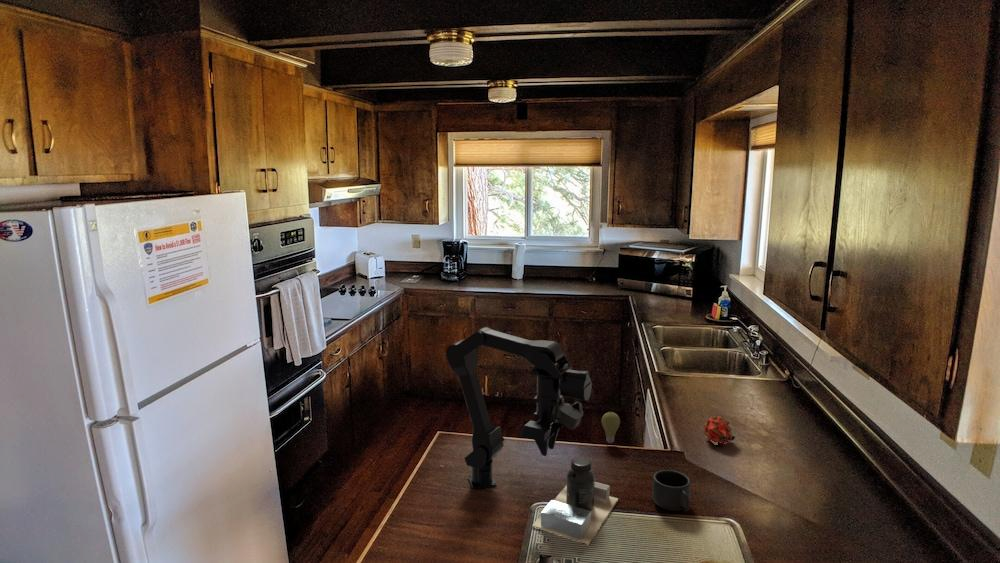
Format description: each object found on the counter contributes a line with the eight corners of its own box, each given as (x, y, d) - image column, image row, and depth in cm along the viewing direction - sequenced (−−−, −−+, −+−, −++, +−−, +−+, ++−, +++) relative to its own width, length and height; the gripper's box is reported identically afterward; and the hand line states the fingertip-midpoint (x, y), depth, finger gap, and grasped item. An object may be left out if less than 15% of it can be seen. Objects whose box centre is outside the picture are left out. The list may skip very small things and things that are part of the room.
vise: (567, 486, 152) (567, 472, 151) (618, 500, 145) (618, 485, 144) (532, 527, 134) (532, 511, 133) (588, 545, 127) (589, 529, 126)
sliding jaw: (551, 513, 138) (551, 499, 137) (590, 524, 133) (590, 511, 133) (540, 525, 133) (541, 512, 132) (581, 538, 128) (581, 524, 127)
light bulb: (597, 443, 177) (598, 412, 175) (607, 437, 181) (608, 407, 179) (613, 448, 173) (614, 417, 171) (622, 442, 177) (623, 412, 175)
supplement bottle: (563, 499, 144) (564, 455, 142) (589, 497, 145) (591, 454, 143) (569, 514, 138) (570, 468, 135) (597, 513, 138) (598, 467, 136)
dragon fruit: (713, 437, 184) (723, 460, 173) (692, 423, 183) (702, 445, 172) (731, 419, 182) (743, 441, 170) (710, 405, 181) (721, 425, 169)
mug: (645, 497, 146) (646, 472, 145) (676, 492, 149) (677, 467, 147) (671, 524, 135) (672, 496, 134) (704, 518, 137) (705, 491, 136)
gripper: (563, 412, 129) (562, 476, 131) (592, 386, 145) (591, 444, 147) (520, 403, 134) (519, 465, 137) (552, 379, 150) (551, 435, 153)
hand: (547, 452), depth 143 cm, fingers open, 4 cm apart
